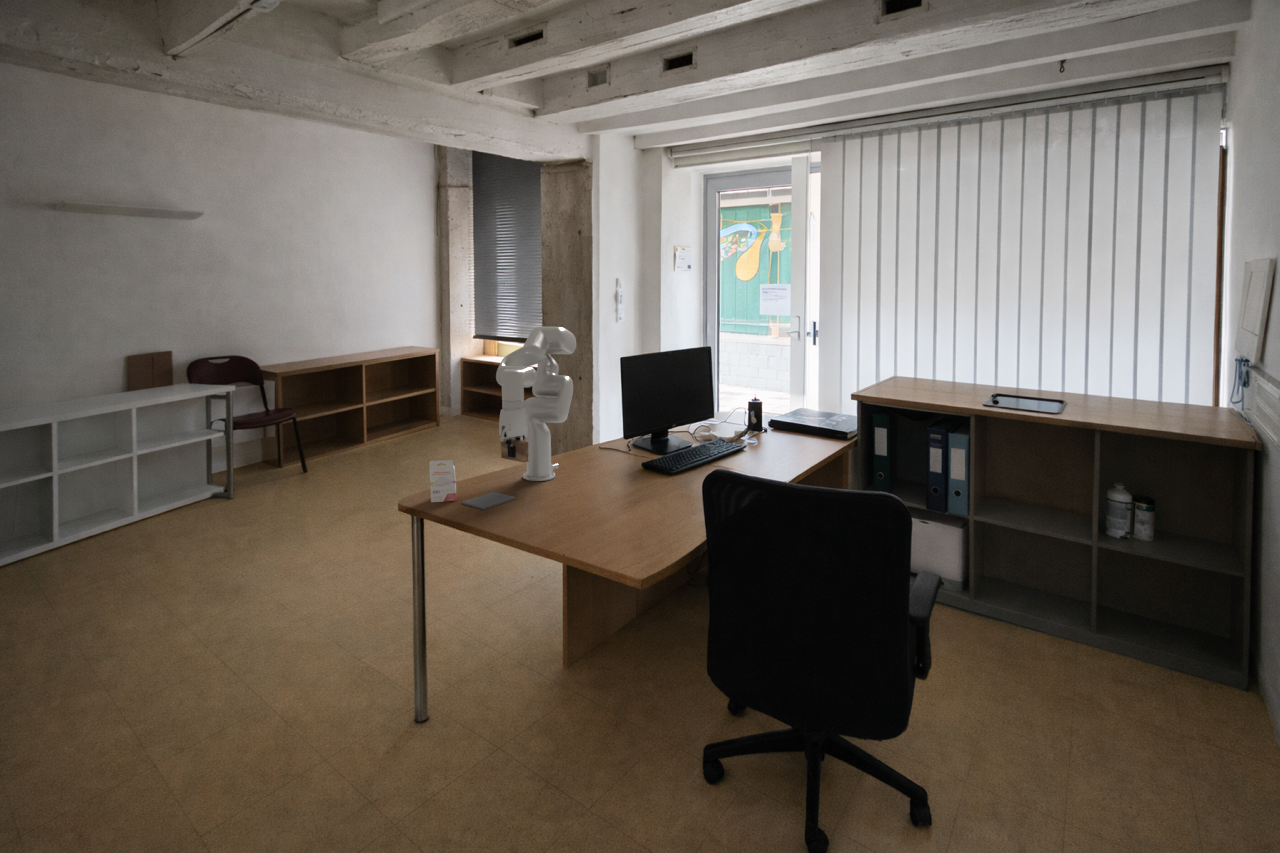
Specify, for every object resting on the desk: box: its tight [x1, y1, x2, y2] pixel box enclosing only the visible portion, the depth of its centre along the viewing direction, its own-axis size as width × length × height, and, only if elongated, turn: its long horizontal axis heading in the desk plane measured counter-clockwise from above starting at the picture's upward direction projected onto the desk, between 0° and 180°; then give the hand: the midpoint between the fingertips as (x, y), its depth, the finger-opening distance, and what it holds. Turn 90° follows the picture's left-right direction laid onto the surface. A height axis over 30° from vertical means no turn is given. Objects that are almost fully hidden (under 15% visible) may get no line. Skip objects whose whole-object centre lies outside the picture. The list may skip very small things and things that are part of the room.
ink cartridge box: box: [428, 459, 458, 503], centre depth 245 cm, size 9×5×15 cm, turn 101°
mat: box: [460, 491, 517, 510], centre depth 245 cm, size 15×11×1 cm
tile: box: [500, 438, 529, 463], centre depth 248 cm, size 2×11×7 cm, turn 55°
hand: (514, 455), depth 248 cm, fingers closed on tile, 2 cm apart
